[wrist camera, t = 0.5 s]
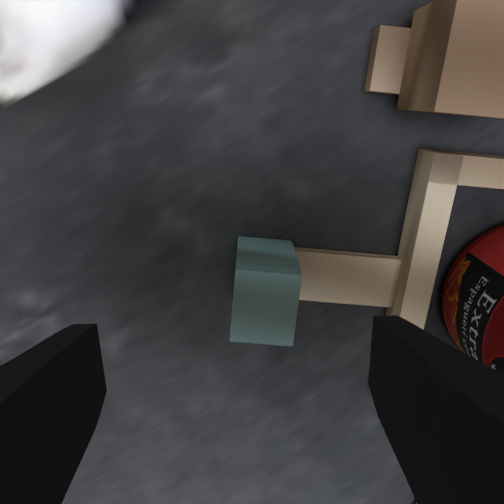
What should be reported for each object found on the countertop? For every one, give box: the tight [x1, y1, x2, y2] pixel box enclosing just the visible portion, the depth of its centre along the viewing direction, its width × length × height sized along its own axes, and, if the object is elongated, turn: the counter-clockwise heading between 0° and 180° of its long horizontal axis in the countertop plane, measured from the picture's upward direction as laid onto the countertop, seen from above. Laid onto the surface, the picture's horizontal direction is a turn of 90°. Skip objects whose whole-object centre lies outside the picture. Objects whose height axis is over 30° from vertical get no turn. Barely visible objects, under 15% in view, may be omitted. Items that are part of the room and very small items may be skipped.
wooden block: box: [397, 0, 504, 119], centre depth 16 cm, size 4×4×4 cm
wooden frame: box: [229, 148, 504, 346], centre depth 20 cm, size 12×20×4 cm, turn 85°
